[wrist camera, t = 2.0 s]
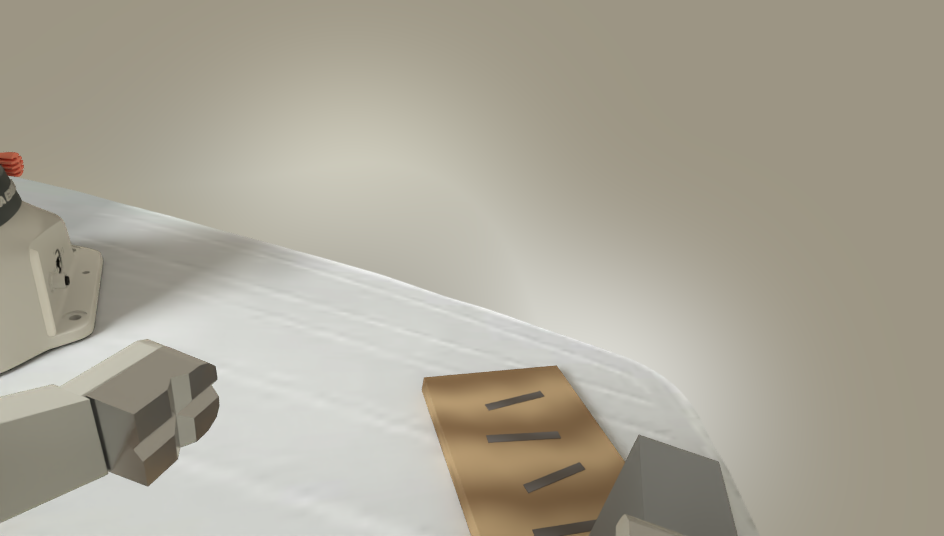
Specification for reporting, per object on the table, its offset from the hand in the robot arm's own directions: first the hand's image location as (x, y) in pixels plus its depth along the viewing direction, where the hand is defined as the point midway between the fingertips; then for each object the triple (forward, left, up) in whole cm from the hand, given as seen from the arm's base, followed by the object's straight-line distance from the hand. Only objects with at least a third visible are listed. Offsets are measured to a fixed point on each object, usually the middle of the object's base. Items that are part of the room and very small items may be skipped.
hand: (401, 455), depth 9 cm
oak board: (-12, +17, -23) cm, 31 cm away
